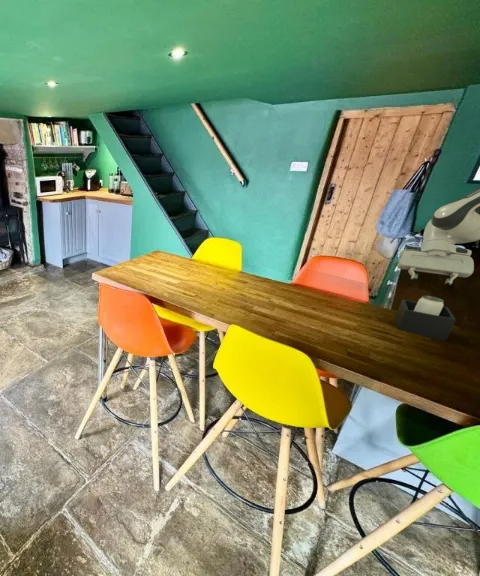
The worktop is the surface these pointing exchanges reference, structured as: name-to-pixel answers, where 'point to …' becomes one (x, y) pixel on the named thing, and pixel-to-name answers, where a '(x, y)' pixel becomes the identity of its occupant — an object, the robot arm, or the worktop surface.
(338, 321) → the worktop surface
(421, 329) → the bin
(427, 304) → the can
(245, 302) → the worktop surface
